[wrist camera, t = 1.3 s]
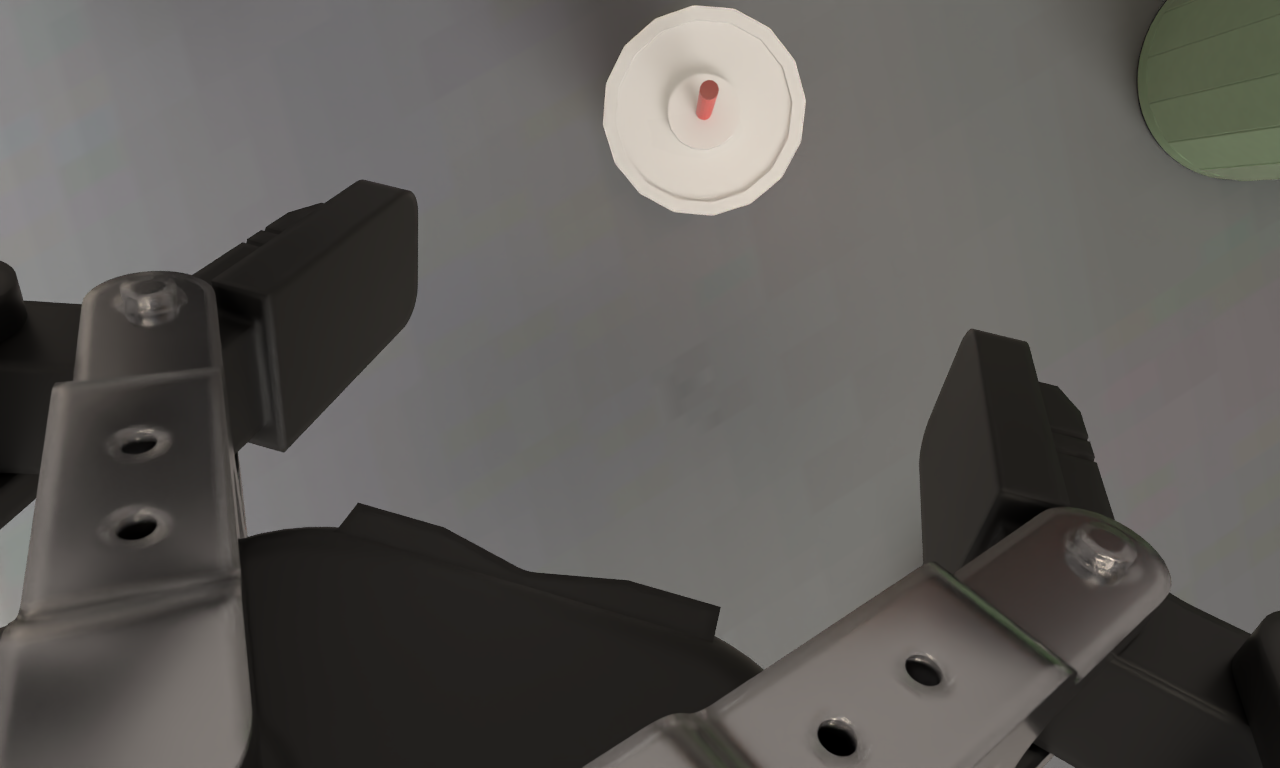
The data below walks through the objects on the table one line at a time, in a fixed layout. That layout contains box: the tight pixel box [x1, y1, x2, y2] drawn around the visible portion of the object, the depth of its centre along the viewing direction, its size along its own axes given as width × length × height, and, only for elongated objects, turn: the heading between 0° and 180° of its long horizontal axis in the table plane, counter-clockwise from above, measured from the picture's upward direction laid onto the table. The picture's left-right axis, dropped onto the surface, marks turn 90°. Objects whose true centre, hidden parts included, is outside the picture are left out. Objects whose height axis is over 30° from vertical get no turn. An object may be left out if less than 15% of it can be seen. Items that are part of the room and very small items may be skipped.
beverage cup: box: [603, 5, 806, 215], centre depth 29 cm, size 6×6×14 cm
